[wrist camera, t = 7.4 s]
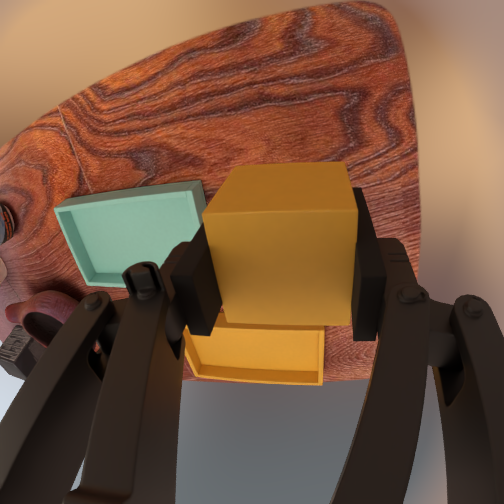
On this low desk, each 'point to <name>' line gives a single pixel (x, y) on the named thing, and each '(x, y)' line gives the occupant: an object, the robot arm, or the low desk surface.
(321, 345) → the ochre tray
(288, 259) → the ochre block
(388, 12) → the low desk surface
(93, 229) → the teal tray
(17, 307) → the bowl
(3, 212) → the beverage can
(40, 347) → the small box
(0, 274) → the cup
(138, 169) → the low desk surface
